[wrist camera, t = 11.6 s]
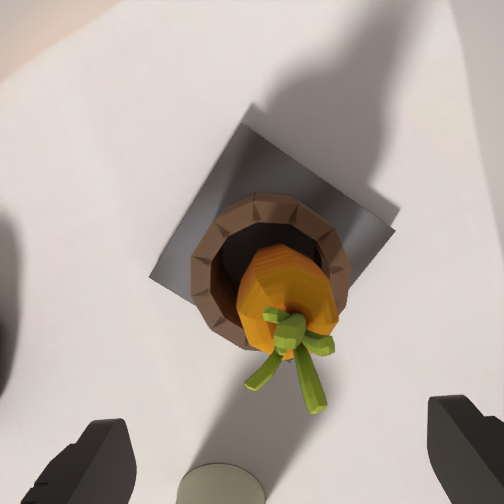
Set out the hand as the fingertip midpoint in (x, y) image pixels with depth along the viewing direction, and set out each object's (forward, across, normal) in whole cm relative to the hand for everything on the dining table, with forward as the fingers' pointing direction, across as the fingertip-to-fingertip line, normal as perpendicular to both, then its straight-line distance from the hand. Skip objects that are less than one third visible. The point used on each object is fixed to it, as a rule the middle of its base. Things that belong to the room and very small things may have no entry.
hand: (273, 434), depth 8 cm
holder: (+18, 0, 0) cm, 19 cm away
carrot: (+18, 0, 0) cm, 18 cm away
